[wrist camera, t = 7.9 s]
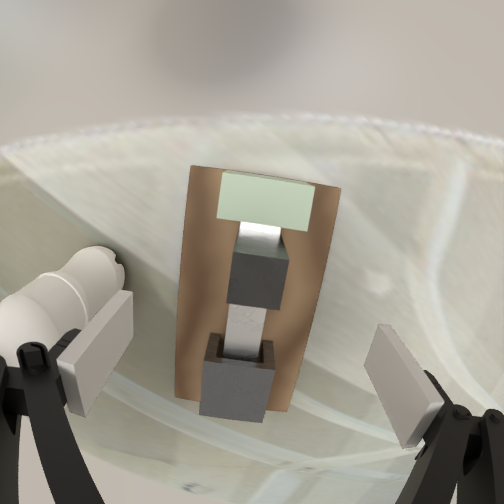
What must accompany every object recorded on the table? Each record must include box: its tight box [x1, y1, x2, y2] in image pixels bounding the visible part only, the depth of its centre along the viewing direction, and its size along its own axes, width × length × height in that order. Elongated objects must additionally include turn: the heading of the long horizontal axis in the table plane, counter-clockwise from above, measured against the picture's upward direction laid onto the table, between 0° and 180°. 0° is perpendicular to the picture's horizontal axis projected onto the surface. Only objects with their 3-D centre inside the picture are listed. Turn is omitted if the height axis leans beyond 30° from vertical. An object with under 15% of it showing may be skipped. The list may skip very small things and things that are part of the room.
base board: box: [175, 166, 341, 412], centre depth 37 cm, size 16×31×1 cm, turn 172°
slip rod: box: [223, 222, 289, 362], centre depth 30 cm, size 4×21×12 cm, turn 171°
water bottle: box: [0, 246, 125, 367], centre depth 25 cm, size 7×7×25 cm
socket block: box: [217, 170, 315, 231], centre depth 30 cm, size 8×4×6 cm, turn 82°
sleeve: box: [199, 332, 275, 423], centre depth 36 cm, size 8×8×6 cm
